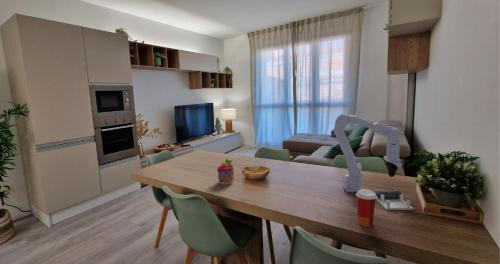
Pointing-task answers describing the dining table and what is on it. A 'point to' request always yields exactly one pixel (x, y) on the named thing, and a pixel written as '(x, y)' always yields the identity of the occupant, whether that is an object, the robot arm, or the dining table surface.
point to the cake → (225, 173)
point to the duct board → (394, 203)
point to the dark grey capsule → (388, 194)
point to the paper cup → (365, 207)
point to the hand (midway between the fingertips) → (391, 176)
